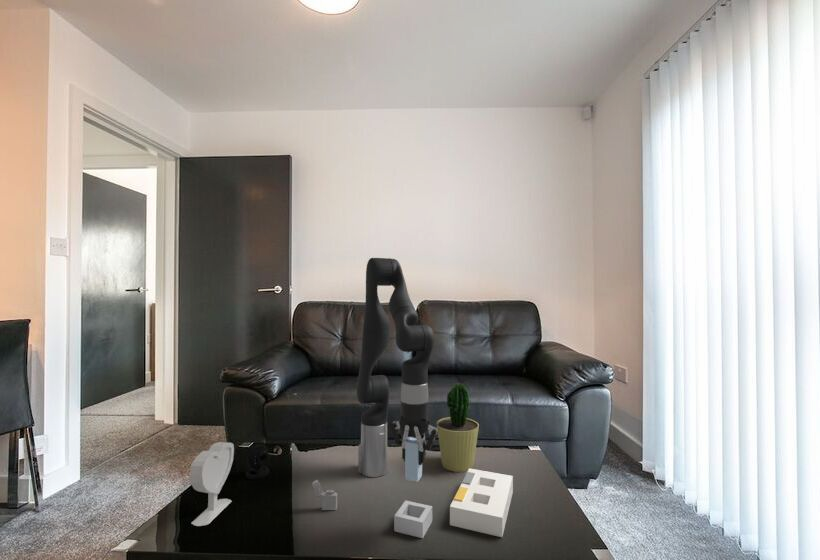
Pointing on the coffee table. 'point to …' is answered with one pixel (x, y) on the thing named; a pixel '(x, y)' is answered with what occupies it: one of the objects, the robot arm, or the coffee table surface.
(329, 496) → the lighter
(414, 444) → the plug
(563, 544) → the coffee table surface
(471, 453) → the potted cactus
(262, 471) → the webcam
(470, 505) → the port panel
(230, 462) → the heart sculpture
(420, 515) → the holster
